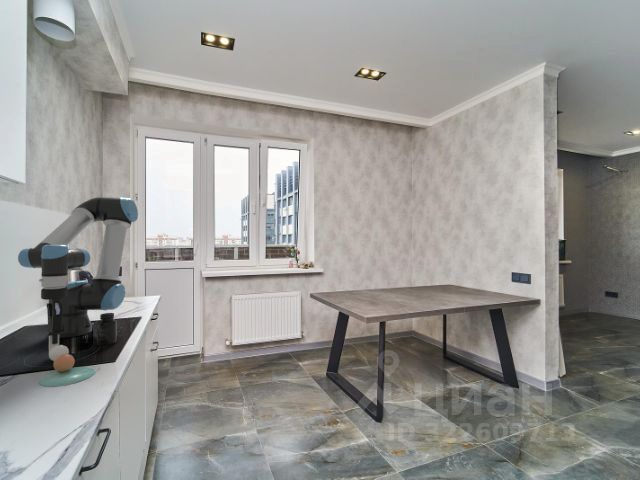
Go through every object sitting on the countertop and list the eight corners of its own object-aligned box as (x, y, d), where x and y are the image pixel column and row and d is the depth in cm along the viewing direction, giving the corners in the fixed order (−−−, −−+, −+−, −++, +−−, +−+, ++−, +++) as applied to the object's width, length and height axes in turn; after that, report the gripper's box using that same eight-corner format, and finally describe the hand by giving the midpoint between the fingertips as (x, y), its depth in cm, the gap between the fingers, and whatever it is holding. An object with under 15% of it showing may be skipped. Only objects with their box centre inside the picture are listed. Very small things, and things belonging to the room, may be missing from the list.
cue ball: (51, 346, 112) (51, 363, 111) (71, 343, 116) (70, 359, 115) (47, 346, 115) (46, 363, 114) (66, 344, 120) (65, 359, 118)
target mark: (35, 376, 103) (35, 375, 103) (88, 364, 113) (88, 363, 113) (43, 391, 93) (43, 390, 93) (100, 376, 104) (100, 375, 104)
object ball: (53, 353, 105) (55, 368, 102) (74, 349, 109) (77, 363, 106) (51, 362, 107) (53, 377, 105) (72, 357, 111) (74, 372, 109)
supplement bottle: (120, 341, 137) (120, 313, 137) (103, 346, 131) (104, 316, 131) (109, 339, 140) (110, 311, 140) (93, 344, 134) (93, 314, 134)
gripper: (38, 286, 120) (37, 350, 120) (44, 290, 111) (43, 359, 111) (63, 284, 125) (63, 345, 126) (71, 288, 117) (70, 354, 117)
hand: (53, 352), depth 119 cm, fingers closed
